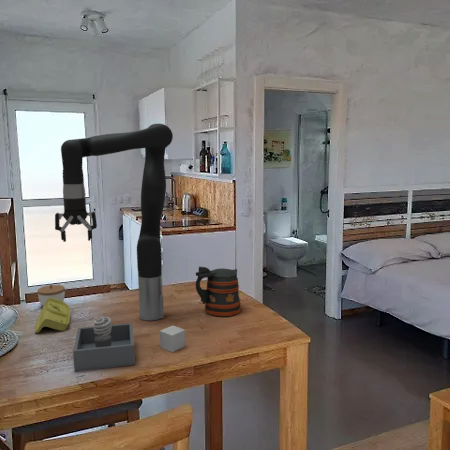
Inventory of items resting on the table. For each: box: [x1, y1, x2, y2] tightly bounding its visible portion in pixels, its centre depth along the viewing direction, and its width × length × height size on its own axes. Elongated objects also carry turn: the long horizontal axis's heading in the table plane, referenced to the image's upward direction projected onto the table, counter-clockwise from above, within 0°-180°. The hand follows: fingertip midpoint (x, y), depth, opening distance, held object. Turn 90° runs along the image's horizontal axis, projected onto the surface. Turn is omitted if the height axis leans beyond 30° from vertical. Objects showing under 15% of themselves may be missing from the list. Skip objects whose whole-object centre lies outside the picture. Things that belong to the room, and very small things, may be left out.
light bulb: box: [93, 316, 112, 348], centre depth 147 cm, size 6×6×12 cm
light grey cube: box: [159, 325, 186, 353], centre depth 154 cm, size 6×6×6 cm
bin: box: [72, 322, 136, 372], centre depth 148 cm, size 18×18×6 cm
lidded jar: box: [37, 284, 66, 306], centre depth 192 cm, size 11×11×9 cm
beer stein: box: [195, 266, 242, 317], centre depth 184 cm, size 19×15×20 cm
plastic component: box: [34, 298, 71, 334], centre depth 175 cm, size 20×7×10 cm
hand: (77, 240), depth 165 cm, fingers open, 8 cm apart
